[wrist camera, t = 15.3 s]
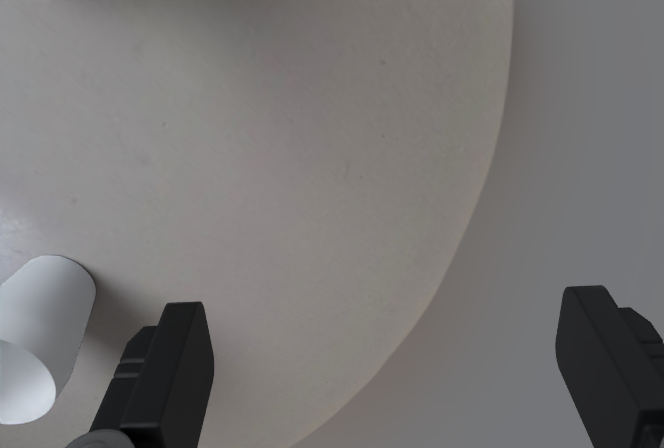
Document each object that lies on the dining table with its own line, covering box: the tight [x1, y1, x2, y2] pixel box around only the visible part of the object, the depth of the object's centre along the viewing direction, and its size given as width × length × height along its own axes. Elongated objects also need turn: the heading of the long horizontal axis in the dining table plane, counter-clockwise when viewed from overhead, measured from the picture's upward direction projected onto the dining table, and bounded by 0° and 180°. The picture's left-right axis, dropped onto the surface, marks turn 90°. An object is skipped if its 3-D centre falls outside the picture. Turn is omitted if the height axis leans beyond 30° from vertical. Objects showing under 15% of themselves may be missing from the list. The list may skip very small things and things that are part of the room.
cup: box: [0, 255, 96, 424], centre depth 50 cm, size 9×9×12 cm
